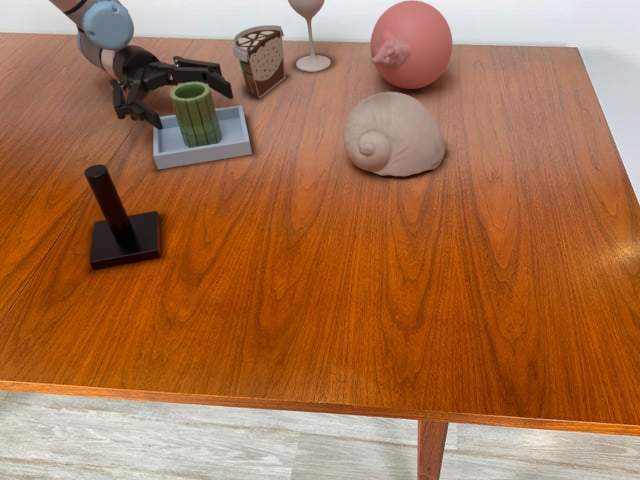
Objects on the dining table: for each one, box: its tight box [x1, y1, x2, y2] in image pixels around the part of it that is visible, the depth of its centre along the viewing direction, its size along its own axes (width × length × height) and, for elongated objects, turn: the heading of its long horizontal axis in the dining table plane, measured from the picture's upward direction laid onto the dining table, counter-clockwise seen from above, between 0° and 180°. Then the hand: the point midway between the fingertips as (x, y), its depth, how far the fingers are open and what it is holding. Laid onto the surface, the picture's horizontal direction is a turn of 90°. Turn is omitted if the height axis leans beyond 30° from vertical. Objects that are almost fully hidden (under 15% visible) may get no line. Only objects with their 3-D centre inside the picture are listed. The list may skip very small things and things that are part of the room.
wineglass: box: [287, 0, 332, 73], centre depth 114 cm, size 8×8×21 cm
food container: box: [232, 24, 286, 100], centre depth 112 cm, size 12×6×10 cm, turn 154°
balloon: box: [370, 0, 453, 90], centre depth 108 cm, size 15×20×15 cm
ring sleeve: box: [169, 82, 222, 148], centre depth 98 cm, size 6×6×9 cm
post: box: [83, 164, 161, 271], centre depth 79 cm, size 9×9×12 cm
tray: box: [152, 104, 253, 170], centre depth 101 cm, size 16×13×3 cm
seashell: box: [342, 91, 446, 177], centre depth 95 cm, size 15×14×15 cm
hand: (195, 106), depth 96 cm, fingers open, 13 cm apart
